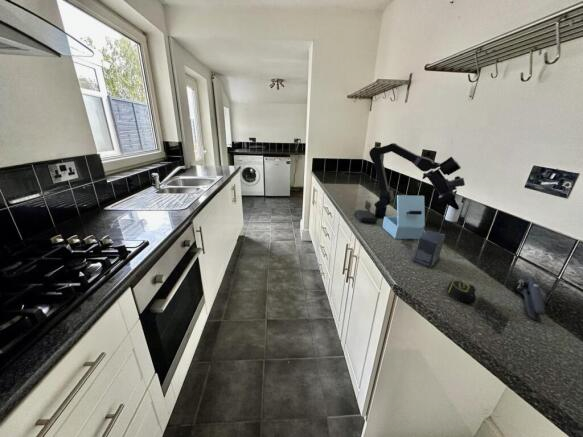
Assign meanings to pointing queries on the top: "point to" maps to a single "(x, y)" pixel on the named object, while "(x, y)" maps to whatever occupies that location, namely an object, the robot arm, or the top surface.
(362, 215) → the carrying case
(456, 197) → the bottle
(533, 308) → the can opener
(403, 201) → the lid
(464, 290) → the tape measure
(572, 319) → the top surface
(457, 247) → the top surface
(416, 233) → the light blue box
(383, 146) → the robot arm
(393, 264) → the top surface
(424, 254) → the small box
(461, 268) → the top surface
